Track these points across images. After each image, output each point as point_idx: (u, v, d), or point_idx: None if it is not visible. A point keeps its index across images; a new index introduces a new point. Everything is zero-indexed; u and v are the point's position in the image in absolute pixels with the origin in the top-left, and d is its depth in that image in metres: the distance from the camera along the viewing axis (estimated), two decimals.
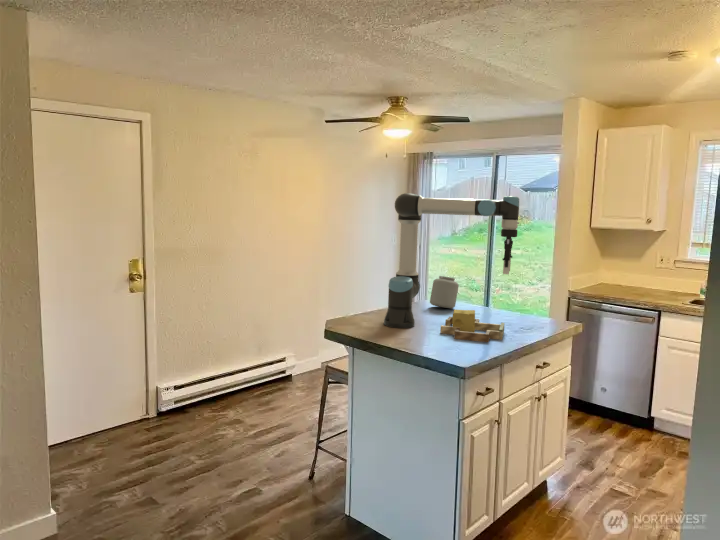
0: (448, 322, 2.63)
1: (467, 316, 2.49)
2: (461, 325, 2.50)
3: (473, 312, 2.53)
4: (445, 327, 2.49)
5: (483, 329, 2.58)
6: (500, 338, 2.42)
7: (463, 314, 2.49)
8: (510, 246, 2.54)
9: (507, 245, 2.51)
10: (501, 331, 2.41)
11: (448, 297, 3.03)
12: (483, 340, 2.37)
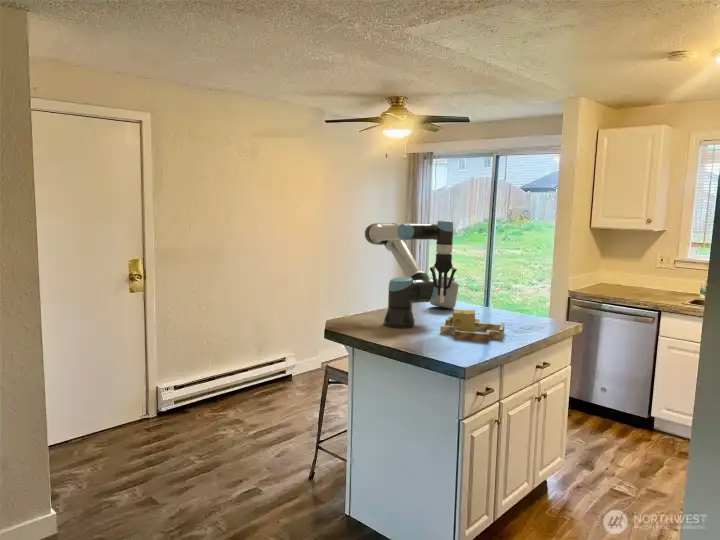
0: (448, 322, 2.63)
1: (467, 316, 2.49)
2: (461, 325, 2.50)
3: (473, 312, 2.53)
4: (445, 327, 2.49)
5: (483, 329, 2.58)
6: (500, 338, 2.42)
7: (463, 314, 2.49)
8: None
9: None
10: (501, 331, 2.41)
11: (448, 297, 3.03)
12: (483, 340, 2.37)
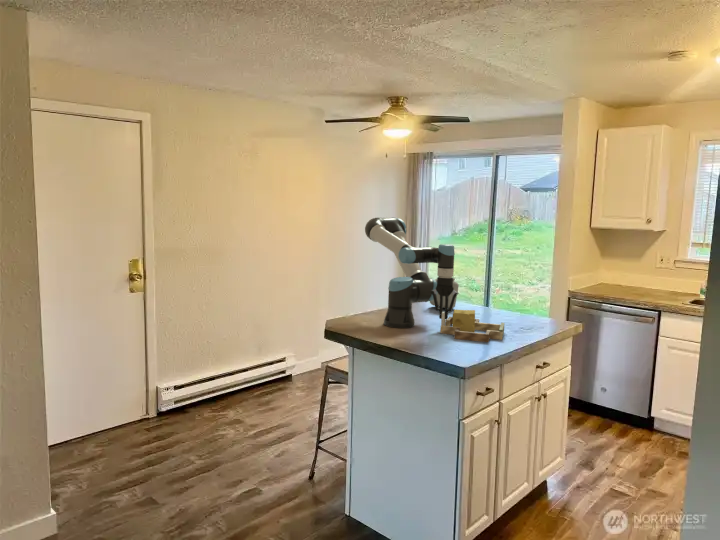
0: (448, 322, 2.63)
1: (467, 316, 2.49)
2: (461, 325, 2.50)
3: (473, 312, 2.53)
4: (445, 327, 2.49)
5: (483, 329, 2.58)
6: (500, 338, 2.42)
7: (463, 314, 2.49)
8: (440, 296, 2.55)
9: None
10: (501, 331, 2.41)
11: None
12: (483, 340, 2.37)
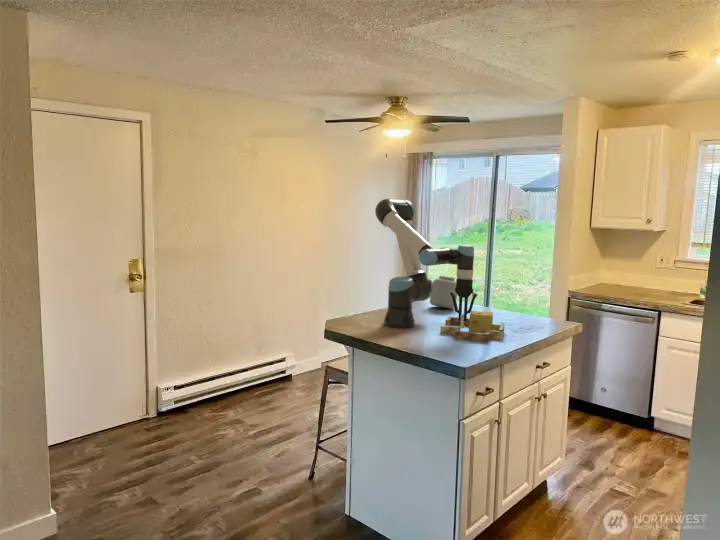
0: (448, 322, 2.63)
1: (484, 318, 2.46)
2: (477, 327, 2.48)
3: (490, 314, 2.49)
4: (445, 327, 2.49)
5: None
6: (500, 338, 2.42)
7: (479, 315, 2.46)
8: (459, 297, 2.52)
9: None
10: (501, 331, 2.41)
11: (448, 297, 3.03)
12: (483, 340, 2.37)
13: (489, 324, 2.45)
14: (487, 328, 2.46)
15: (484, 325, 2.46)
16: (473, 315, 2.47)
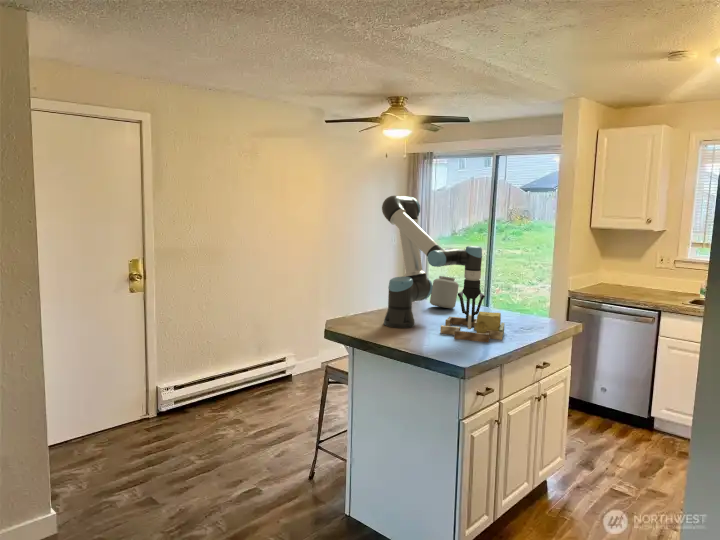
0: (448, 322, 2.63)
1: (491, 318, 2.45)
2: (485, 327, 2.46)
3: (498, 314, 2.48)
4: (445, 327, 2.49)
5: None
6: (500, 338, 2.42)
7: (487, 316, 2.45)
8: None
9: (460, 299, 2.54)
10: (501, 331, 2.41)
11: (448, 297, 3.03)
12: (483, 340, 2.37)
13: (497, 325, 2.44)
14: (495, 329, 2.45)
15: (492, 326, 2.45)
16: (481, 316, 2.46)
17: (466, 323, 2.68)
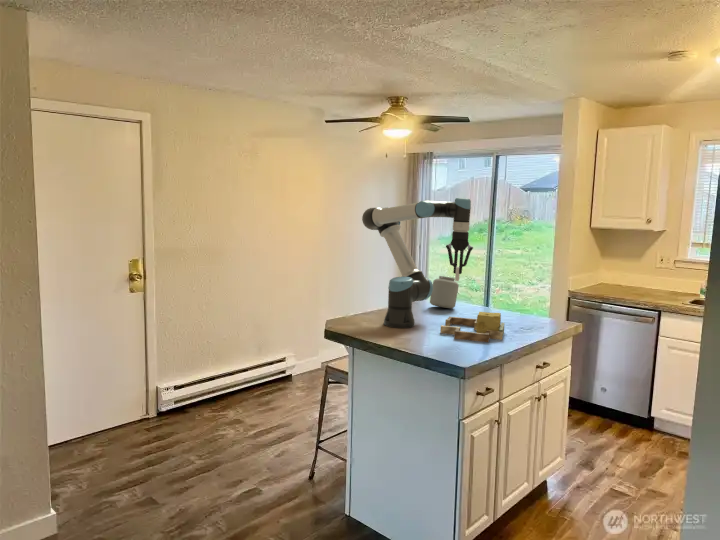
0: (448, 322, 2.63)
1: (491, 319, 2.45)
2: (485, 328, 2.46)
3: (498, 315, 2.48)
4: (445, 327, 2.49)
5: None
6: (500, 338, 2.42)
7: (487, 316, 2.45)
8: None
9: (448, 251, 2.55)
10: (501, 331, 2.41)
11: (448, 297, 3.03)
12: (483, 340, 2.37)
13: (497, 325, 2.44)
14: (495, 329, 2.45)
15: (492, 326, 2.45)
16: (481, 316, 2.46)
17: (466, 323, 2.68)
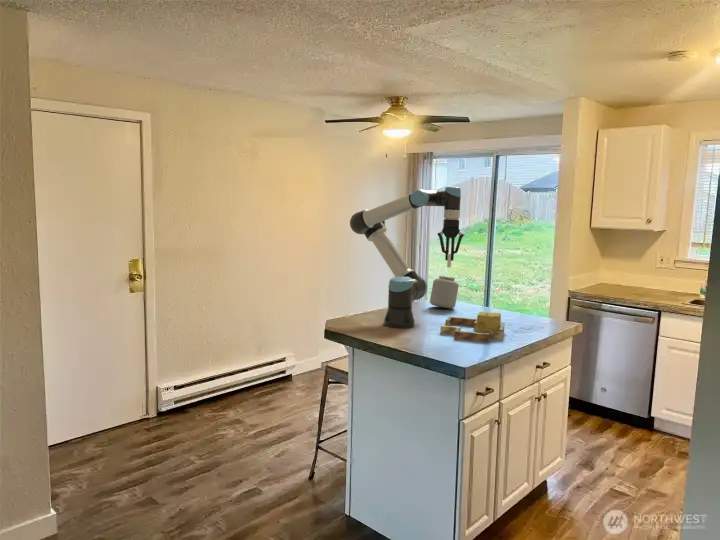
0: (448, 322, 2.63)
1: (491, 319, 2.45)
2: (485, 328, 2.46)
3: (498, 315, 2.48)
4: (445, 327, 2.49)
5: None
6: (500, 338, 2.42)
7: (487, 316, 2.45)
8: (446, 238, 2.60)
9: (440, 238, 2.62)
10: (501, 331, 2.41)
11: (448, 297, 3.03)
12: (483, 340, 2.37)
13: (497, 325, 2.44)
14: (495, 329, 2.45)
15: (492, 326, 2.45)
16: (481, 316, 2.46)
17: (466, 323, 2.68)
